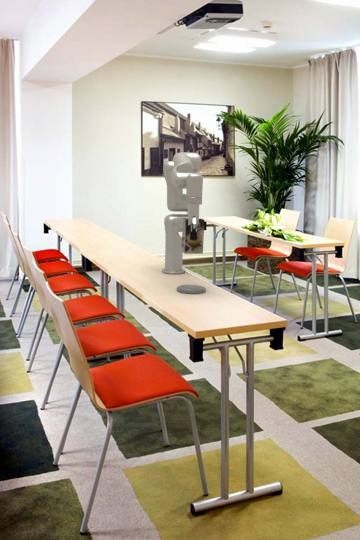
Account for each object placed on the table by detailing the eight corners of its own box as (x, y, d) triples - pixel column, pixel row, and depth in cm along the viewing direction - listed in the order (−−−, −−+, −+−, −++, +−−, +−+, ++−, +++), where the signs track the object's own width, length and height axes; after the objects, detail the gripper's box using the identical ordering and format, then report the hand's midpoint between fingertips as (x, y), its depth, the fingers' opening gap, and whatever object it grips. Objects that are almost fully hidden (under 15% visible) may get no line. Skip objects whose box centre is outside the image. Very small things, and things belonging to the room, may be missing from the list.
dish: (176, 287, 301) (176, 284, 300) (204, 287, 301) (204, 284, 301) (177, 293, 287) (177, 290, 287) (207, 294, 288) (207, 291, 287)
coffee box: (184, 254, 286) (185, 219, 283) (181, 251, 292) (182, 218, 289) (203, 253, 289) (204, 219, 286) (199, 251, 295) (200, 217, 292)
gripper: (184, 199, 294) (183, 235, 298) (186, 202, 277) (185, 241, 281) (200, 199, 294) (199, 236, 298) (203, 202, 277) (202, 241, 281)
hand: (192, 238), depth 289 cm, fingers closed on coffee box, 7 cm apart
